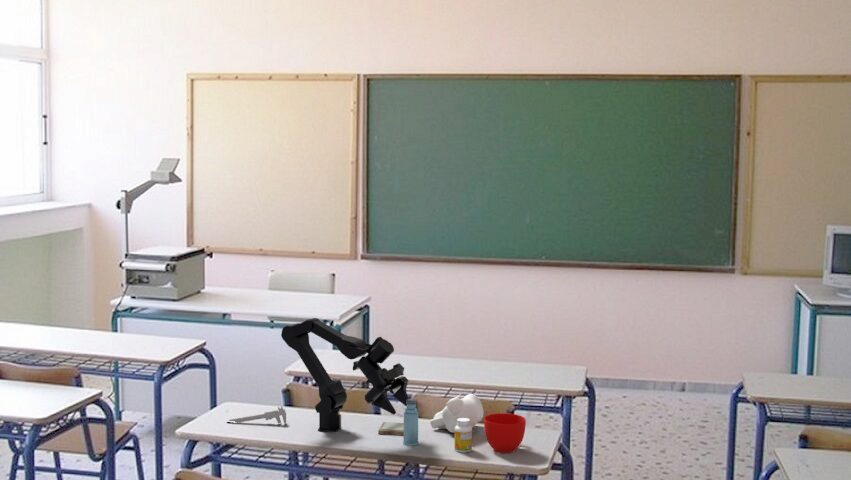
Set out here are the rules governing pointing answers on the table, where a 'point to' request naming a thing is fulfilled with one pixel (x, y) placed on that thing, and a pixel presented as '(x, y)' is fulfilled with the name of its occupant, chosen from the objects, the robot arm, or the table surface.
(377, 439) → the table surface
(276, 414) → the caliper
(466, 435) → the supplement bottle
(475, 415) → the fox head
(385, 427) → the picture frame
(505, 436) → the ceramic cup
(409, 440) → the water bottle
